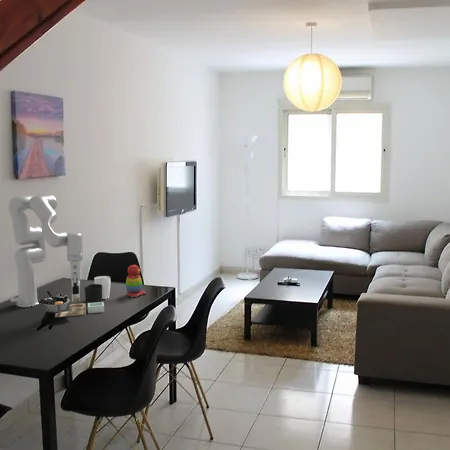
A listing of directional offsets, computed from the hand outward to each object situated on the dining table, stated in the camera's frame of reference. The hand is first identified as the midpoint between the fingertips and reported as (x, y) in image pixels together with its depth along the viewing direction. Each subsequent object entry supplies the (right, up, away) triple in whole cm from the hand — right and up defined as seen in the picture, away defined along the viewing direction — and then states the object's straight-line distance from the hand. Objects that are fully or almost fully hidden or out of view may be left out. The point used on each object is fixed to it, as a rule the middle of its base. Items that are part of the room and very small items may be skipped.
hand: (75, 292), depth 282 cm
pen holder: (+4, -9, +22) cm, 24 cm away
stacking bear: (+23, -7, +40) cm, 47 cm away
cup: (+6, -8, +34) cm, 35 cm away
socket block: (-2, -11, 0) cm, 12 cm away
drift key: (-8, -9, -2) cm, 12 cm away
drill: (0, -5, +1) cm, 5 cm away
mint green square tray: (+9, -11, +5) cm, 15 cm away
